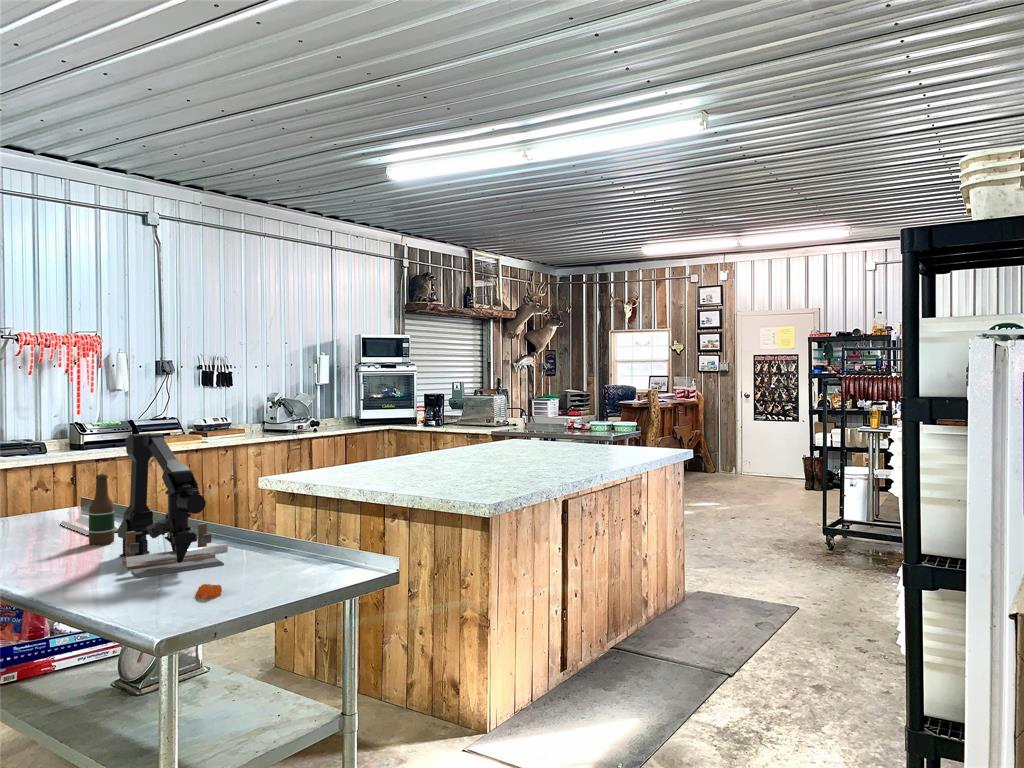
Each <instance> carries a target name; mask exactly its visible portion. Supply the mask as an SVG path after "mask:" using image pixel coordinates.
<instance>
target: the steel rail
mask: <svg viewBox="0 0 1024 768" xmlns="http://www.w3.org/2000/svg"><path fill="white" fill-rule="evenodd" d="M228 550H229V548H228V544H227V543H223V544H222V543H221V544H215V545H207V546H206V547H199V548H198V547H194V548H193V547H192V548H188V550H187V552H186V554H185V556H184V559H187V558H194V557H201V556H208V555H215V556H216V555H221V554H226V553H228ZM173 560H177V557H176V551H173V550H168V551H163V552H155V553H147V554H144V555H139V556H132V557H125V561H126V566H127V567H130V566H137V565H144V564H151V563H159V562H166V561H173Z"/></svg>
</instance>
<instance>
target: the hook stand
mask: <svg viewBox="0 0 1024 768" xmlns="http://www.w3.org/2000/svg"><path fill="white" fill-rule="evenodd" d="M207 524H208V523H206V522H202V523H197V548H199V547H206V546H208V545H207V544H212V534H211V533H208V527H207V526H208V525H207ZM135 553H139V543H135V531H130V532H126V557H132V556H135ZM126 557H125V558H126ZM210 558H216V554H215V555H208V556H201V557H194V558H187V559H183V561H182V562H189V561H196V560H203V559H210ZM182 562H181V563H182ZM175 563H178V562H177V561H175V560H173V561H166V562H159V563H151V564H144V565H137V566H130V567H127V566H126V560H122V563H121V565H122V566H123V565H124V566H125V567H124V566H123V567H124V568H125V569H126V570H127V571H131V570H134V569H141V568H148V567H154V566H161V565H168V564H175Z"/></svg>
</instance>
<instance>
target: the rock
mask: <svg viewBox="0 0 1024 768" xmlns="http://www.w3.org/2000/svg"><path fill="white" fill-rule="evenodd" d="M197 588H198V589H197V591H196V592H195V597H196V598H200V599H201V600H210V599H213V598H217V597H221V595H222V591H223V588H222V585H221V584H211V583H202V584H200V586H198V587H197Z"/></svg>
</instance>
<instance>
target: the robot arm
mask: <svg viewBox="0 0 1024 768" xmlns="http://www.w3.org/2000/svg"><path fill="white" fill-rule="evenodd" d="M124 444H125V445H124V446H125V448H126V450H125V451H126V455H128V458H129V459H130V461H131V468H130V469H131V470H130V490H129V491H130V493H129V494H130V496H129V506H128V507H127V508H126V510H125V511H124V513H123V519H122V521H121V523H120V525H119V526H118V527H117V528H118V530H117V532H116V534H117V537H118V538H120V539H122V553H121V554H119V557H120V558H121V557H125V558H126V532H130V531H135V543H139V553H135V556H139V555H147V554H150V550H148V549H149V547H148V546H149V545H148V539H147V536H148V535H149V537H150V538H151V539H156V538H158V537H159V536H161V535H162V536H164V535H166V534H167V535H166V536H165V537H164V540H166V541H167V542H169V543H170V547H171V551H176V557H177V560H175V561H177V562H178V563H181V562H182V561H183V559H184V556H185V554H186V552H187V550H188V549H190V545H191V544H192V543H195V542H196V543H197V542H198V533H197V534H196V533H195V532H194V531H193V530H191V529H192V528H191V526H190V517H191V516H192V515H196V514H200V513H201V512H203V510H204V509H205V507H206V503H207V501H206V500H205V497H204V496H203V495H201V494H200V489H199V487H198V486H199V483H198V482H197V480H196V477H195V476H194V475H195V474H194V473H193V471H192V470H191V469H190V467H188V466H187V464H185V463H183V462H181V461H179V460H178V459H177V456H175V453H174V452H173V451H172V450H171V448H170V446H169V445H168V443H167V442H166V440H165V436H164V434H163V433H160V432H157V433H156V432H153V433H151V432H147V433H146V432H145V433H131V434H130V433H129V435H128V436H127V437H126V438H125V440H124ZM152 457H154V459H155V460H156V462H157V464H158V465H159V466H160V468H161V470H162V476H161V478H162V481H163V485H165V487H166V488H167V489H166V491H165V492H164V494H165V495H167V513H166V514H165V515H164V518H163V519H162V520H158V521H156V522H154V520H153V516H154V512H153V510H151V509H150V508H149V506H148V483H149V482H148V481H149V463H150V462H149V461H150V460H151V458H152ZM191 514H192V515H191Z"/></svg>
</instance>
